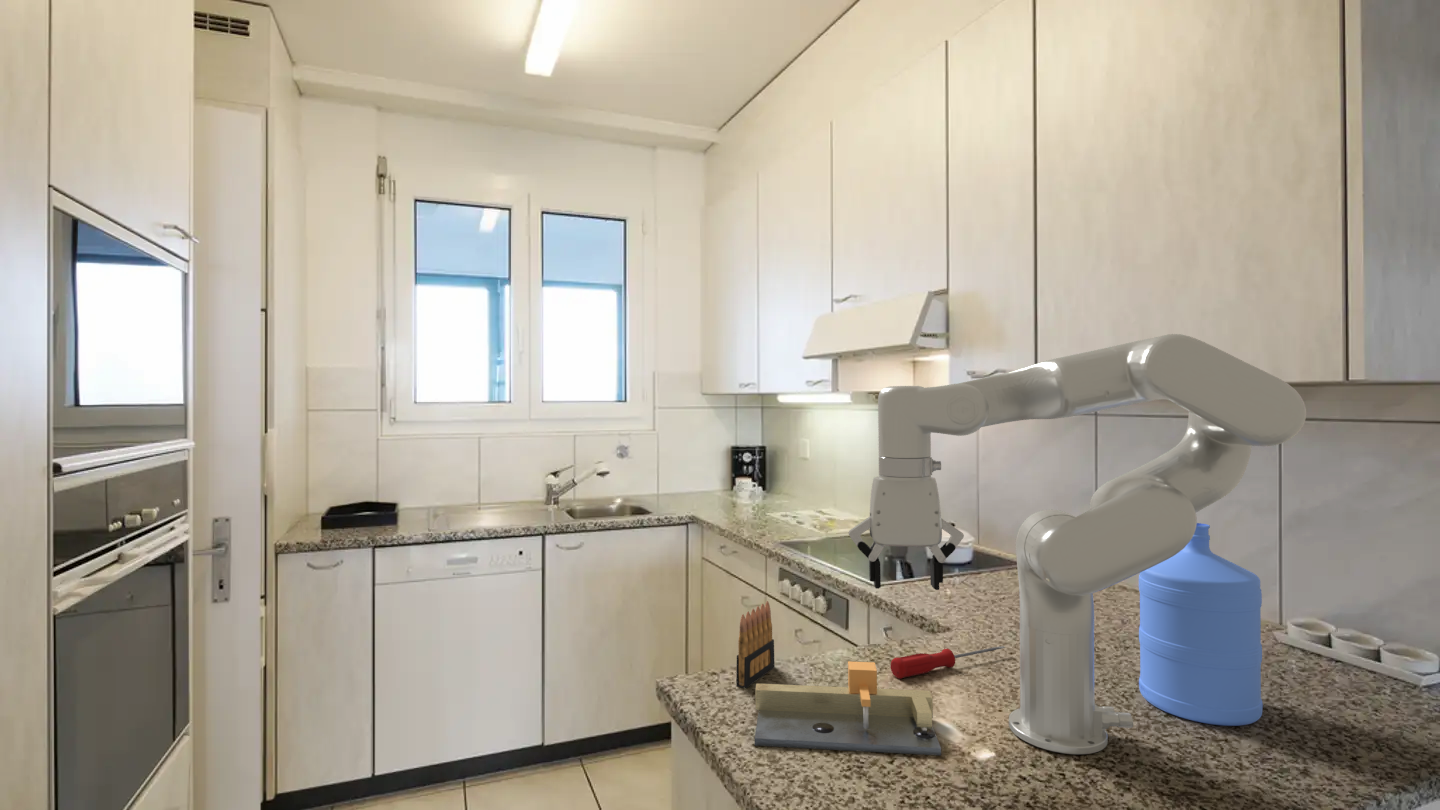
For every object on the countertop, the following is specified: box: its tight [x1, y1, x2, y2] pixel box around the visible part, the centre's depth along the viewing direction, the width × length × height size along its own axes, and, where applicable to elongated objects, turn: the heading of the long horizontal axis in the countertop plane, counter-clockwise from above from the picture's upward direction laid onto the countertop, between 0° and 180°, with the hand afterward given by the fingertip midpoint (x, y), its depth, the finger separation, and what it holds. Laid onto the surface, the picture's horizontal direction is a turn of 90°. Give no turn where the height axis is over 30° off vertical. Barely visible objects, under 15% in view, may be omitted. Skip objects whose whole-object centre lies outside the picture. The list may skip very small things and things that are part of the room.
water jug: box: [1138, 522, 1264, 727], centre depth 106 cm, size 16×16×28 cm
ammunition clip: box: [735, 600, 775, 689], centre depth 119 cm, size 11×2×12 cm, turn 148°
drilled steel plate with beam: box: [754, 683, 942, 756], centre depth 100 cm, size 26×14×4 cm, turn 83°
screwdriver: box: [890, 645, 1006, 680], centre depth 122 cm, size 4×25×4 cm, turn 114°
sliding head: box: [847, 660, 878, 729], centre depth 100 cm, size 4×8×6 cm, turn 173°
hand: (905, 586), depth 102 cm, fingers open, 7 cm apart
